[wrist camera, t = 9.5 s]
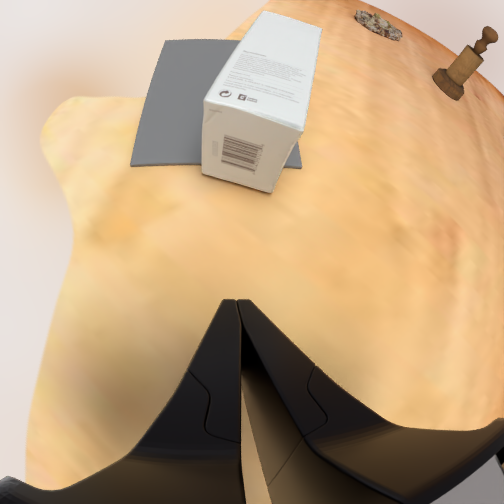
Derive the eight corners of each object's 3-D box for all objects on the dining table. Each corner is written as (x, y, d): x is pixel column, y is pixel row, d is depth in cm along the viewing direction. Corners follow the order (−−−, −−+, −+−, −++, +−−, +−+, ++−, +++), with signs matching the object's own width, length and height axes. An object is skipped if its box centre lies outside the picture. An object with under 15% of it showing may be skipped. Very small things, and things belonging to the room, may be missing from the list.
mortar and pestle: (446, 97, 33) (499, 35, 16) (426, 72, 34) (472, 11, 17) (463, 103, 34) (512, 49, 17) (445, 79, 36) (489, 25, 19)
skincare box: (304, 132, 13) (328, 25, 17) (194, 99, 13) (263, 5, 17) (270, 198, 21) (303, 84, 25) (196, 175, 21) (249, 68, 25)
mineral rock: (356, 16, 33) (360, -1, 34) (348, 29, 38) (353, 12, 38) (406, 43, 34) (406, 24, 34) (396, 54, 38) (397, 35, 39)
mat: (301, 168, 22) (302, 166, 22) (131, 166, 20) (130, 164, 20) (276, 46, 28) (276, 44, 27) (165, 42, 26) (165, 40, 25)
